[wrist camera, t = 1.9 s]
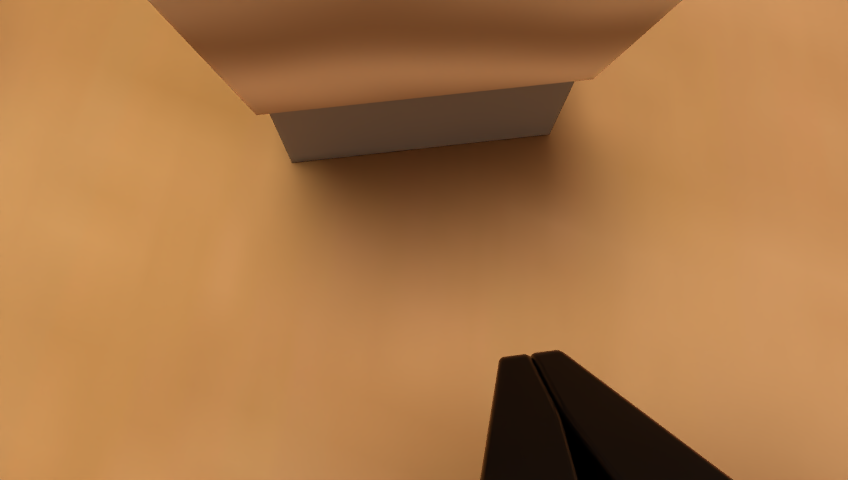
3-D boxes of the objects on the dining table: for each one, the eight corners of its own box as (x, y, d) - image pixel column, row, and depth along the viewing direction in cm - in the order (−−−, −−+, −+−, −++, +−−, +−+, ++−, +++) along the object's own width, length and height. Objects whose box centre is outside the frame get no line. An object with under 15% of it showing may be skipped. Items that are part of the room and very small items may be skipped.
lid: (590, 60, 19) (593, 79, 19) (254, 95, 19) (256, 115, 19) (810, -159, 9) (815, -119, 9) (92, -96, 9) (96, -54, 9)
